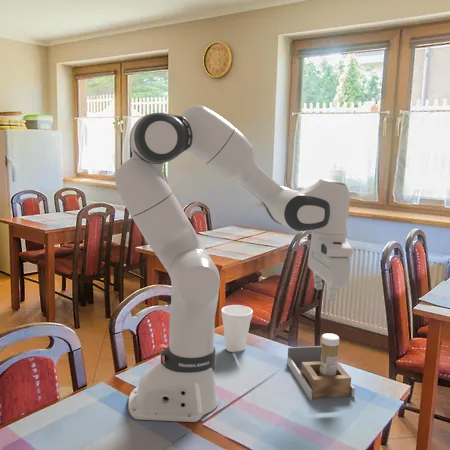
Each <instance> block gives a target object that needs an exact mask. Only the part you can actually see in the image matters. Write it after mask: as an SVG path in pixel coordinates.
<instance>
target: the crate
mask: <svg viewBox="0 0 450 450" xmlns="http://www.w3.org/2000/svg"><path fill="white" fill-rule="evenodd" d="M300 366H301V368H300V372H301V374H302V375H303V377H304V378H305V380H306V381H307V383H308V384H309V386H310V387H311V389H312V390H313V392H312V399H318V398H319V399H320V398H322V399H323V398H336V397H351V395H350V387H351V384H352V377H351V376H350V374H349V373H348V372H347V370H345V369H344V368H343V367H342V366H341V364H340V363H339V362H338V361H337V370H336V375H335V376H320V361H316V362H302V364H300Z"/></svg>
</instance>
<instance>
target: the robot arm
mask: <svg viewBox="0 0 450 450" xmlns="http://www.w3.org/2000/svg"><path fill="white" fill-rule="evenodd" d="M184 152H189V153H190V154H192V155H194V156H195V157H196V158H197V159H199V161H201V162H202V163H204V164H205V165H206V166H207V167H209V169H211V170H213V171H214V172H215V173H217V174H219V175H221V176H223V177H224V178H226V179H228V180H231V181H235V182H237V183H239V184H240V185H242V186H243V187H244V188H245V189H247V190H248V191H249V192H250V193H251V194H252V195H253V196H255V197H256V198H257V199H259V201H260V202H261V203H262V204H263V206H264V208H265V210H266V212H267V214H268V216H269V217H270V219H271V220H273V222H275V223H277V224H279V225H283V226H284V227H286V228H288V229H291V230H293V231H296V232H306V231H307V232H308V231H311V237H310V238H311V239H310V245H309V250H308V258H307V265H308V266H307V267H308V269H310V270H311V271H312V273H313V274H312V275H313V280H314V285H313V287H314V288H315V289H316V290H319V291H320V290H323V281H324V282H325V283H327V284H328V292H326V300H327V301H329V302H334V301H336V295H337V293H338V291H339V289H345V288H346V287H347V285H348V283H349V277H350V269H351V259H350V258H352V257H353V254H354V253H353V252H354V250H353V249H354V248H353V247H352V246H351V244H350V243H349V240H348V238H347V236H348V235H347V234H348V229H347V221H348V219H349V216H350V214H349V213H350V193H349V192H350V191H349V187H348V186H347V185H346V183H343V182H340V181H338V180H332V179H326V178H320V179H318V181H317V182H315V183H313V184H312V185H311V186H308V187H306V188H304V189H301V190H296V189H294V188H291V187H288V186H284V185H280V184H279V183H278V182H276V181H275V180H274V179H273V178H272V177H271V176H269V175H268V173H266V172H265V171H264V170H263V169H261V168H260V166H259V165H258V164H257V162H256V161H255V150H254V146H253V145H252V144H251V143H250V141H249V140H248V138H247V137H245V135H244V134H243V133H242V132H241V131H240V130H239V129H237V128H236V127H235V126H234V125H233V124H231V123H230V122H229V120H226V119H225V118H224V117H222V116H221V115H219V114H218V113H216V112H214V111H213V110H211V109H210V108H208V107H206V106H205V105H202V104H195V105H192V106H190V107H189V108H187V109H186V110H185V111H183V113H182V114H181V115H175V114H171V113H166V112H153V113H148V114H145V115H143V116H142V117H140V118H138V120H137V121H136V122H135V123H134V125H133V126H132V128H131V131H130V134H129V159H128V160H126V161H124V162H123V163H122V164H121V165H120V166H119V167H118V169H117V170H116V172H115V174H114V182H115V185H116V188H117V191H118V193H119V195H120V198H121V200H122V202H123V204H124V206H125V208H126V210H127V212H128V214H129V215H130V216H131V218H132V220H133V222H134V223H135V225H136V227H137V228H138V230H139V232H140V233H141V235H142V236H143V238H144V240H145V241H146V243H147V245H148V246H149V247H150V248H151V250H152V252H154V254H155V255H156V257H157V259H159V261H160V263H161V264H162V265H163V267H164V269H165V271H166V272H167V273H168V276H169V278H170V282H171V283H170V284H171V296H170V297H171V298H170V299H171V300H170V312H169V318H168V319H169V325H168V326H169V328H168V329H169V330H168V334H169V335H168V336H169V337H168V338H169V339H168V341H169V342H168V346H167V345H166V344H165V343H161V344H159V346H158V352H159V353H158V354H160V361H159V362H157V363H156V364H155V365H153V366H152V367H150V368H149V369H147V370H146V371H144V372H143V374H142V375H141V377H140V379H139V383H138V386H137V387H135V388H133V390H132V391H131V392H130V394H129V397H128V404H127V406H128V413H129V414H130V415H131V417H132V418H133V419H135V420H141V421H145V420H146V421H166V422H167V421H168V422H189V423H196V422H199V421H200V420H201V418H203V417H204V416H205V415H206V414H209V413H211V412H212V411H214V410H215V409H216V408H217V407H218V405H219V402H220V398H219V395H218V393H217V392H218V391H217V388H216V381H215V371H216V365H217V364H216V362H217V357H216V356H217V352H216V347H215V344H214V343H215V324H216V323H215V321H216V312H217V308H218V307H217V306H218V301H219V292H220V288H221V277H220V276H221V275H220V271H219V269H218V267H217V266H216V264H215V262H214V260H212V258H211V256H210V254H209V253H208V250H206V248H205V246H204V244H203V243H202V241H201V239H200V237H199V235H198V234H197V232H196V230H195V229H194V227H193V225H192V224H191V222H190V221H191V220H189V217H187V214H186V213H185V211H184V210H183V208H182V206H181V204H180V203H179V200H178V199H177V198H176V195H175V194H174V192H173V191H172V189H171V186H170V185H169V184H168V182H167V180H166V178H165V175H164V171H163V170H164V164H166V163H167V162H168V163H169V162H171V161H172V160H175V159H176V158H177V157H179V156H180V155H181V154H182V153H184Z"/></svg>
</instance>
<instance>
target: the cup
mask: <svg viewBox="0 0 450 450" xmlns="http://www.w3.org/2000/svg"><path fill="white" fill-rule="evenodd" d="M220 310H221V318H222V326H223V333H224V343H225V350H226V351H228V352H230V353H235V352H242V351H244V350H246V347H247V342H248V336H249V330H250V324H251V320H252V318H253V315H254V314H253V313H254V311H253V309H252V308H250V307H249V306H246V305H241V304H231V305H226V306H223V307H222V308H221V309H220Z"/></svg>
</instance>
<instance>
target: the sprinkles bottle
mask: <svg viewBox="0 0 450 450" xmlns="http://www.w3.org/2000/svg"><path fill="white" fill-rule="evenodd" d="M339 345H340V337H339V335H337V334H335V333H331V332H330V333H328V332H327V333H323V334H322V335H321V346H322V350H321V361H320V376H335V375H336V370H337V362H338V358H339V355H338V353H339V352H338V351H339Z"/></svg>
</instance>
